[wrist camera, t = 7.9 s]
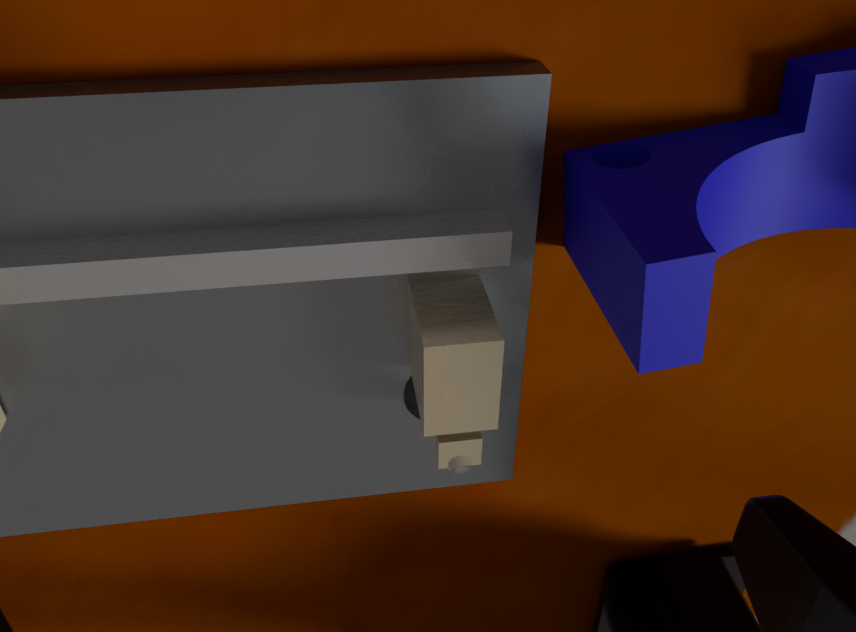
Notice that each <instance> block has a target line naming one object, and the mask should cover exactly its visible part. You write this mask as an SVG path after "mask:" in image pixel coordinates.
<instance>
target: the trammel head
mask: <svg viewBox="0 0 856 632" xmlns="http://www.w3.org/2000/svg"><path fill="white" fill-rule="evenodd" d="M5 421H6V416H5V414H4V412H3V410H2V407H1V405H0V432H1V430H2V428H3V426H4V423H5Z"/></svg>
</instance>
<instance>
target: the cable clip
mask: <svg viewBox="0 0 856 632" xmlns="http://www.w3.org/2000/svg"><path fill="white" fill-rule="evenodd" d="M563 168H564V247H565V249H566V250H567V252H568V254H569V255H570V257H571V259H572V261H573V262H574V264H575V266H576V267H577V269H578V271H579V273H580V274H581V276H582V278H583V279H584V281H585V283H586V285H587V286H588V288H589V290H590V291H591V293H592V295H593V297H594V298H595V300H596V302H597V303H598V305H599V307H600V309H601V310H602V312H603V314H604V315H605V317H606V319H607V321H608V322H609V324H610V326H611V327H612V329H613V331H614V333H615V334H616V336H617V338H618V339H619V341H620V343H621V345H622V346H623V348H624V350H625V351H626V353H627V355H628V357H629V358H630V360H631V362H632V363H633V365H634V367H635V369H636V370H637V372H638V374H642V373H647V372H653V371H658V370H663V369H668V368H674V367H679V366H684V365H689V364H695V363H700V362H702V357H703V350H704V342H705V335H706V327H707V320H708V312H709V305H710V297H711V290H712V282H713V275H714V267H715V260H716V259H718V258H719V257H720V256H722V255H724V254H725V253H727V252H729V251H731V250H733V249H735V248H737V247H739V246H742V245H744V244H746V243H749V242H752V241H755V240H758V239H761V238H765V237H769V236H773V235H776V234H782V233H787V232H793V231H800V230H809V229H822V228H856V47H853V48H847V49H841V50H835V51H829V52H823V53H818V54H812V55H806V56H800V57H794V58H788V59H787V62H786V68H785V74H784V80H783V86H782V92H781V98H780V104H779V109H778V114H774V115H769V116H763V117H757V118H751V119H746V120H740V121H734V122H728V123H723V124H717V125H711V126H706V127H700V128H694V129H688V130H683V131H677V132H671V133H665V134H660V135H654V136H648V137H642V138H637V139H631V140H625V141H620V142H614V143H608V144H602V145H597V146H591V147H585V148H579V149H574V150H568V151H563Z"/></svg>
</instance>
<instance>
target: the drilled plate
mask: <svg viewBox="0 0 856 632" xmlns="http://www.w3.org/2000/svg"><path fill="white" fill-rule="evenodd" d="M551 77H552V73H551V72H550V71H549V70H548V69H547V68H546V67H545V66H544V64H543V63H542V62H541V61H530V62H508V63H485V64H462V65H440V66H417V67H395V68H372V69H349V70H327V71H304V72H282V73H259V74H236V75H214V76H191V77H169V78H146V79H123V80H101V81H78V82H56V83H33V84H10V85H0V405H1V407H2V410H3V412H4V414H5V416H6V421H5V423H4V426H3V428H2V430H1V432H0V537H4V536H13V535H22V534H31V533H39V532H48V531H57V530H66V529H75V528H84V527H93V526H102V525H110V524H119V523H128V522H137V521H146V520H155V519H164V518H173V517H181V516H190V515H199V514H208V513H217V512H226V511H235V510H244V509H252V508H261V507H270V506H279V505H288V504H297V503H306V502H315V501H323V500H332V499H341V498H350V497H359V496H368V495H377V494H386V493H394V492H403V491H412V490H421V489H430V488H439V487H448V486H457V485H465V484H474V483H483V482H492V481H501V480H510V479H512V475H513V465H514V455H515V444H516V434H517V424H518V414H519V404H520V393H521V383H522V373H523V363H524V352H525V342H526V332H527V322H528V312H529V301H530V291H531V281H532V271H533V260H534V250H535V240H536V230H537V220H538V209H539V199H540V189H541V179H542V168H543V158H544V148H545V138H546V128H547V117H548V107H549V97H550V87H551Z"/></svg>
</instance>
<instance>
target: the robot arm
mask: <svg viewBox="0 0 856 632" xmlns="http://www.w3.org/2000/svg"><path fill="white" fill-rule="evenodd" d="M732 546H733V548H725V549H718V550H710V551H702V552H694V553H686V554H679V555H671V556H663V557H655V558H648V559H640V560H632V561H624V562H618V563H615V564H613V565H611V566H610V567H609V568H608V569H607V571H606V576H605V580H604V584H603V589H602V593H601V597H600V602H599V606H598V610H597V615H596V619H595V623H594V628H593V632H856V547H855V546H854V545H853V544H851V543H850V542H849V541H847V540H846V539H844V538H843V537H842V536H840V535H839V534H837V533H836V532H835V531H833V530H832V529H830V528H829V527H828V526H826V525H825V524H823V523H822V522H821V521H819V520H818V519H816V518H815V517H814V516H812V515H811V514H809V513H808V512H807V511H805V510H804V509H802V508H801V507H800V506H798V505H797V504H795V503H794V502H793V501H791V500H790V499H788V498H786V497H784V496H781V495H768V496H760V497H753V498H751V499H749V500H748V501H747V502H746V504H745V506H744V509H743V512H742V514H741V517H740V520H739V523H738V525H737V528H736V531H735V533H734V536H733V543H732ZM745 588H746V590H747V593H748V596H749V598H750V601H751V604H752V607H753V609H754V612H755V615H756V618H757V620H758V622H757V620H756V618H755V617H754V615H753V613H752V611H751V609H750V608H749V606H748V604H747V602H746V600H745V599H744V597H743V595H742V594H743V591H744V589H745ZM758 623H759V624H758ZM0 632H13V630H12V628H11V626H10V624H9V622H8V621H7V619H6V617H5V615H4V614H3V612H2V610H1V608H0Z"/></svg>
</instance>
